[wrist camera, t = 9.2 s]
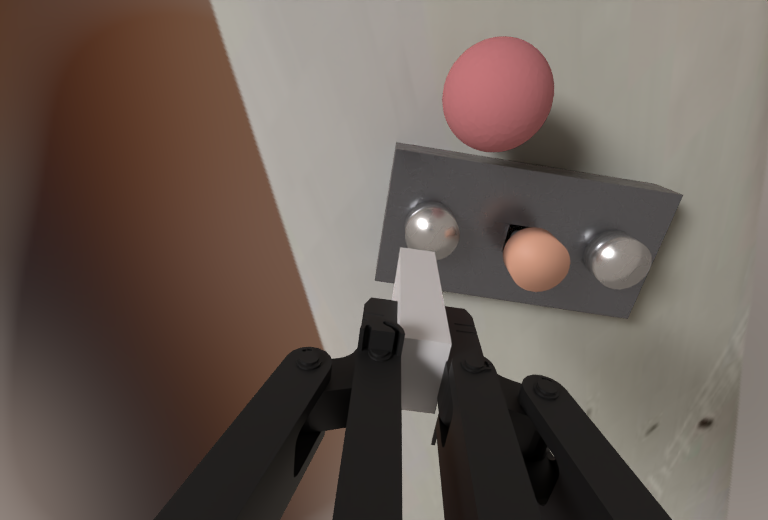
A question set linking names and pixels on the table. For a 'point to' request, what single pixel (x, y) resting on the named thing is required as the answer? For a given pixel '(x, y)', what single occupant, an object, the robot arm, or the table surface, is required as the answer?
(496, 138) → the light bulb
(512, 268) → the knob
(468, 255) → the mount plate
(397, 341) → the robot arm
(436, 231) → the knob
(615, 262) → the knob
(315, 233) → the table surface
